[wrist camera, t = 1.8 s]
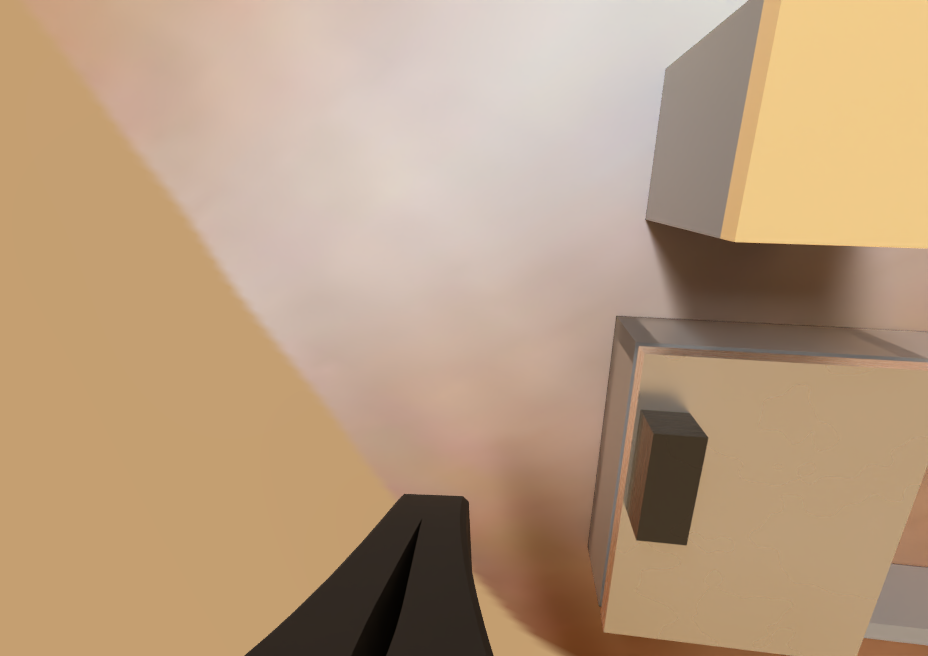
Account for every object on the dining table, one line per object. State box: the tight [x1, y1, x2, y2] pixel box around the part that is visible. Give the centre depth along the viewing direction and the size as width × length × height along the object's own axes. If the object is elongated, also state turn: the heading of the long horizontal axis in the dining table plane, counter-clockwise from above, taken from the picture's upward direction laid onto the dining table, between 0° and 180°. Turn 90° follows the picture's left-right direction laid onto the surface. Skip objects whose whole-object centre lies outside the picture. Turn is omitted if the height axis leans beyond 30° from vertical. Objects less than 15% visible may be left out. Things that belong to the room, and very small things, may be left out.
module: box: [645, 0, 928, 248], centre depth 10 cm, size 4×4×6 cm
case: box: [588, 316, 928, 645], centre depth 14 cm, size 16×9×3 cm, turn 89°
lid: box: [600, 346, 928, 656], centre depth 12 cm, size 7×9×2 cm
